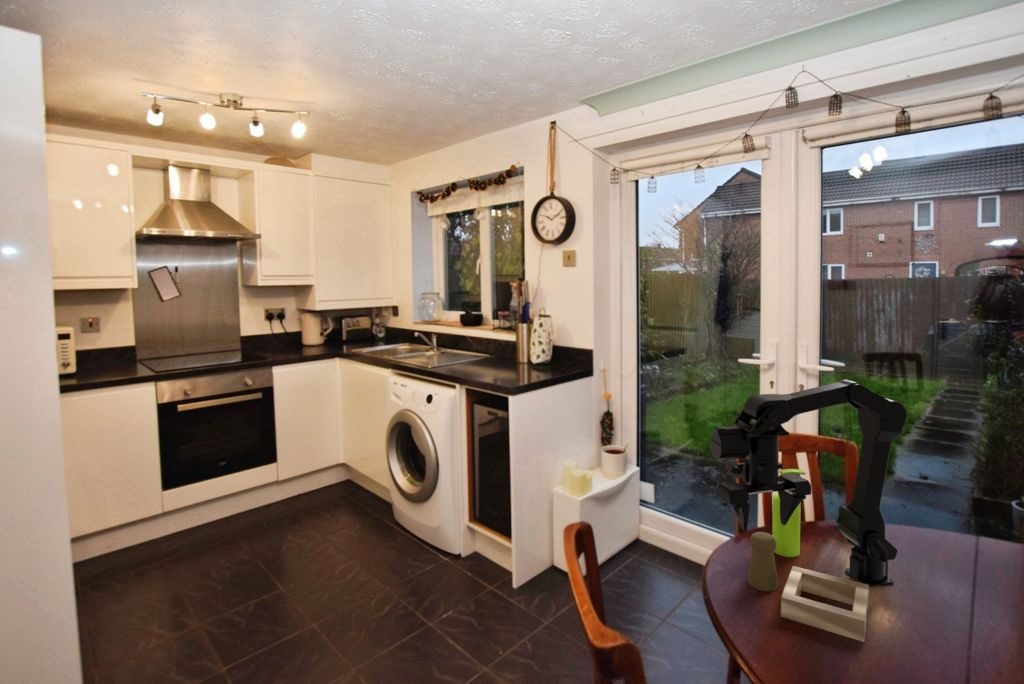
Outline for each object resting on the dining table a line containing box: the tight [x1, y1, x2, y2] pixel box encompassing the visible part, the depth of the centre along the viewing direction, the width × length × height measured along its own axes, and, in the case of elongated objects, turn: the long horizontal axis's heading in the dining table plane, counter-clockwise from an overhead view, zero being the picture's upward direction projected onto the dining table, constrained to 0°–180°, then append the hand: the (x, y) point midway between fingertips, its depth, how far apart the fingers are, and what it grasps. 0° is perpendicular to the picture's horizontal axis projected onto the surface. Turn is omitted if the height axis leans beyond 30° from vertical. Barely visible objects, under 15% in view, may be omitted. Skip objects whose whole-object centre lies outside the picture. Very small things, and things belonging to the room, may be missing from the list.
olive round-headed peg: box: [747, 531, 779, 592], centre depth 114 cm, size 6×6×11 cm
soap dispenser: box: [771, 468, 806, 558], centre depth 126 cm, size 6×7×20 cm
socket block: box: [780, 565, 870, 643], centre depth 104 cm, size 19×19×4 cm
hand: (763, 527), depth 113 cm, fingers open, 9 cm apart
